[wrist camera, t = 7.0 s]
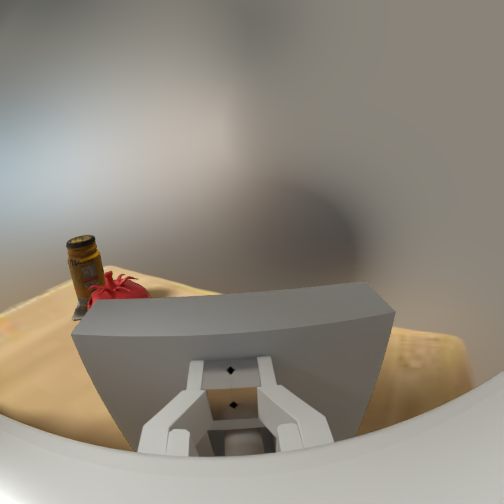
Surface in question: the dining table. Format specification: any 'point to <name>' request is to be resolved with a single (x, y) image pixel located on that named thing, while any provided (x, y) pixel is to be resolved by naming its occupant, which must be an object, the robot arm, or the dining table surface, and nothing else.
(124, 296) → the pomegranate
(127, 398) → the grey slab
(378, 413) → the dining table surface
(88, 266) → the condiment
